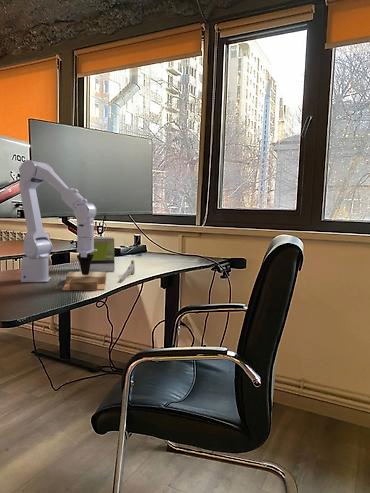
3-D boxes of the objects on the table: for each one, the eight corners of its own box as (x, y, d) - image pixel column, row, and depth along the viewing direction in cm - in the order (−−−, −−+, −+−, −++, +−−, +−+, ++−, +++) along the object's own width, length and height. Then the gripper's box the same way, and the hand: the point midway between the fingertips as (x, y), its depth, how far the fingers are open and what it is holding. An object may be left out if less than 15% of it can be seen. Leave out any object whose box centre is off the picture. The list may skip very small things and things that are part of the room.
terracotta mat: (62, 290, 134) (62, 289, 134) (65, 284, 142) (65, 283, 142) (104, 289, 136) (104, 288, 136) (105, 284, 144) (105, 283, 144)
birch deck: (65, 284, 142) (65, 276, 142) (69, 279, 152) (69, 271, 152) (105, 284, 145) (105, 276, 144) (106, 279, 155) (106, 271, 154)
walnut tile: (71, 278, 139) (71, 285, 139) (69, 282, 133) (69, 289, 133) (97, 278, 140) (97, 285, 140) (96, 282, 134) (96, 289, 134)
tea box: (113, 268, 181) (113, 236, 179) (114, 272, 171) (114, 238, 170) (79, 268, 177) (79, 235, 176) (78, 272, 168) (78, 237, 166)
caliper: (132, 274, 169) (132, 259, 168) (134, 274, 169) (134, 259, 168) (118, 283, 149) (118, 267, 148) (121, 283, 148) (121, 267, 148)
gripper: (95, 239, 134) (95, 278, 136) (98, 235, 148) (97, 271, 150) (74, 238, 133) (74, 278, 135) (78, 235, 147) (78, 271, 149)
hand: (85, 274), depth 142 cm, fingers closed
